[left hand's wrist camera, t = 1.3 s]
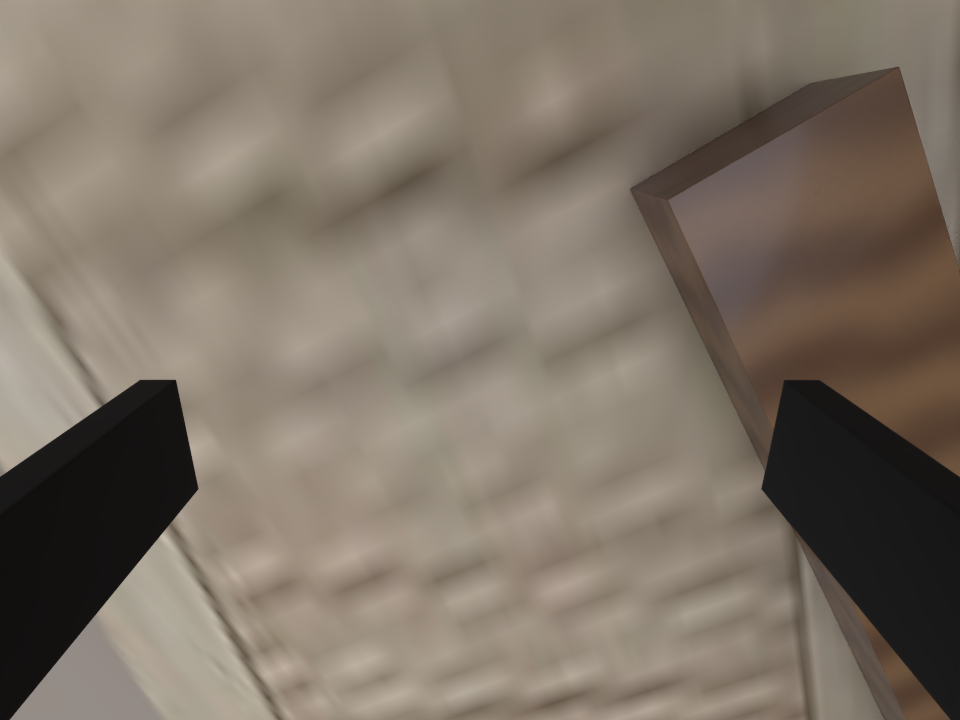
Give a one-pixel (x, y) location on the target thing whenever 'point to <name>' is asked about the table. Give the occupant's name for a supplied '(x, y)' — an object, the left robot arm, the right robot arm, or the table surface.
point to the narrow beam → (824, 287)
